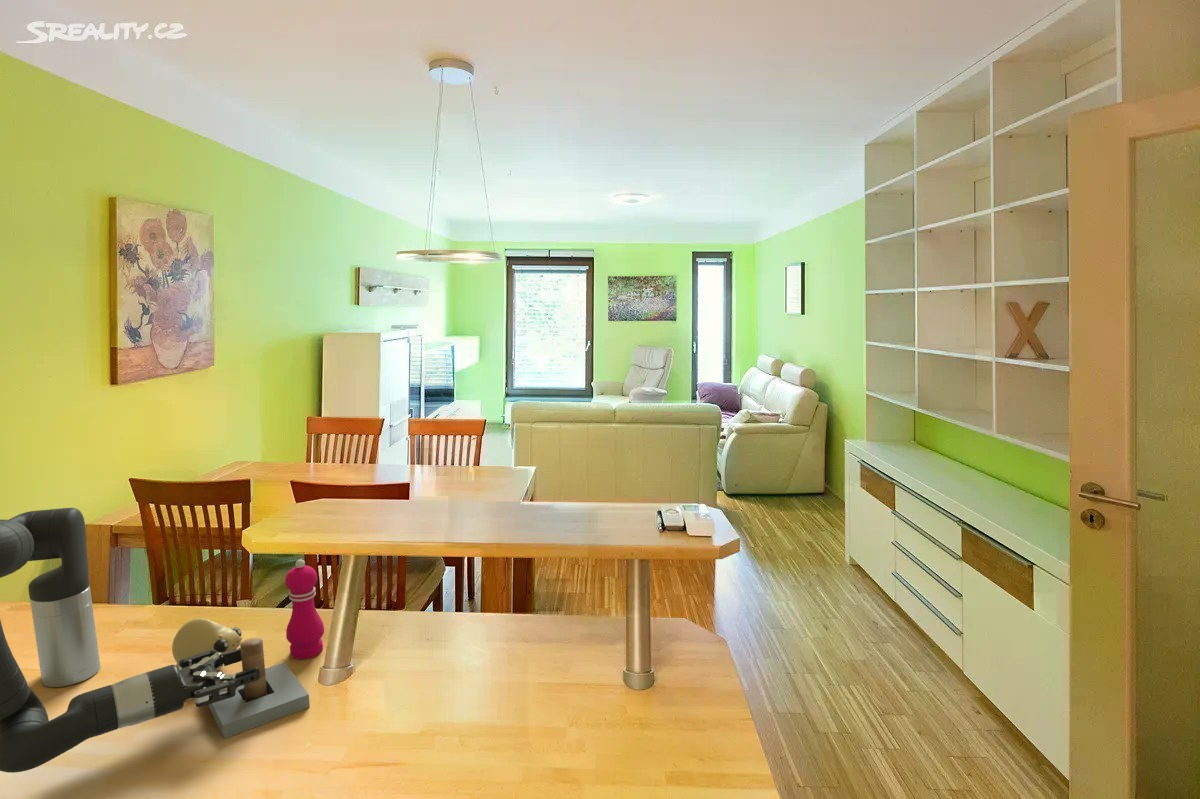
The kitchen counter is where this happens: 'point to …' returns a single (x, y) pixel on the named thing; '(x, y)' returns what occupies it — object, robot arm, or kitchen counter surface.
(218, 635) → the beige animal figure
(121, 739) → the kitchen counter surface
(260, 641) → the pin
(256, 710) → the socket
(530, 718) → the kitchen counter surface
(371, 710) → the kitchen counter surface
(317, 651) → the pepper mill
